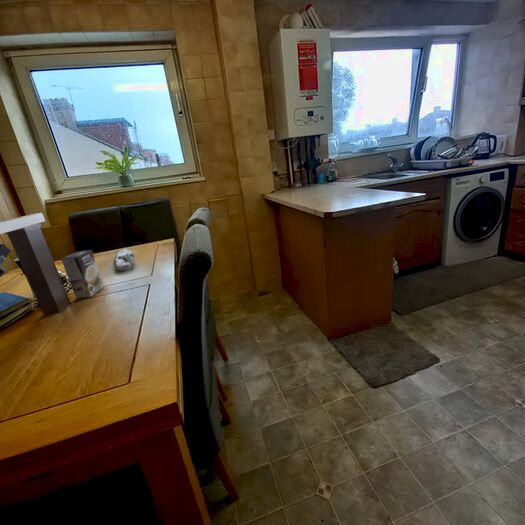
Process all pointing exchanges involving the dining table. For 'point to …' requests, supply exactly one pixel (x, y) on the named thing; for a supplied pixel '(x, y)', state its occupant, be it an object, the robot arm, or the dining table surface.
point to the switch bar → (21, 222)
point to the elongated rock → (124, 259)
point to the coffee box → (83, 273)
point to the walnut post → (39, 268)
